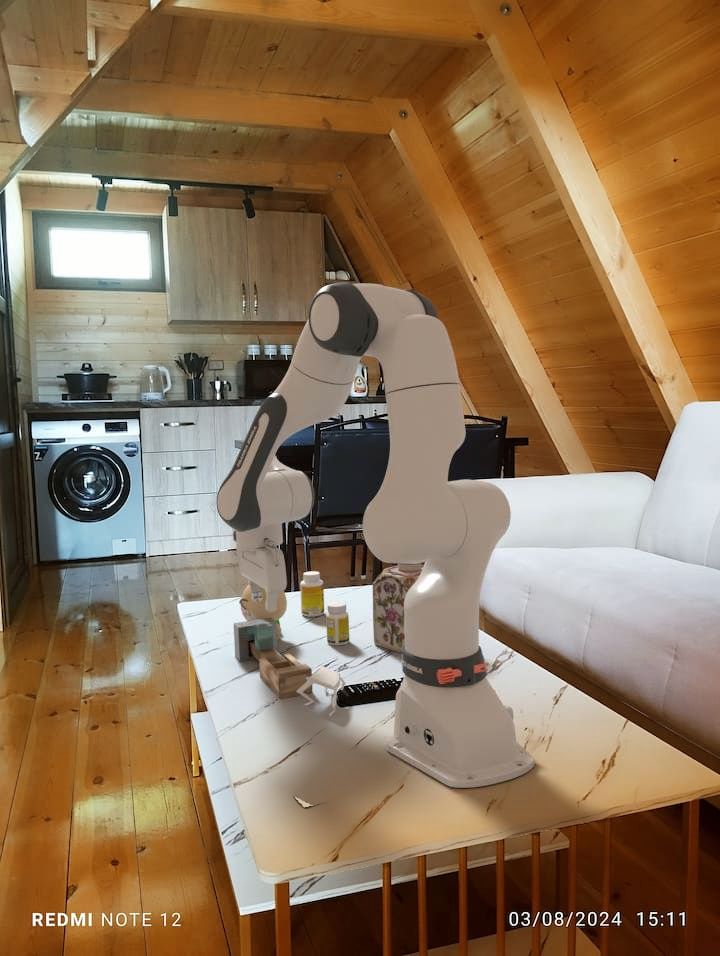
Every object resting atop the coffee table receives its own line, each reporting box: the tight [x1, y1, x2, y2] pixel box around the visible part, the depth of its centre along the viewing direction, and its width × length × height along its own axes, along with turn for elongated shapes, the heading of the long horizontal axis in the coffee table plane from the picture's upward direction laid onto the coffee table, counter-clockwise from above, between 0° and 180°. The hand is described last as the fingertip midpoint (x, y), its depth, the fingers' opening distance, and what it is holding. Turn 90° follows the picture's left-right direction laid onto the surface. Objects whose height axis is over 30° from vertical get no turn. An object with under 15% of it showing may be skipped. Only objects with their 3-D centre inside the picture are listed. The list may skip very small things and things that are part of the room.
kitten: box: [239, 584, 288, 641], centre depth 169 cm, size 15×10×15 cm
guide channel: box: [258, 653, 313, 700], centre depth 142 cm, size 12×6×4 cm, turn 24°
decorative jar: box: [372, 562, 424, 654], centre depth 162 cm, size 12×12×18 cm
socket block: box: [233, 618, 279, 662], centre depth 159 cm, size 4×8×7 cm, turn 114°
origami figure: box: [296, 665, 347, 717], centre depth 132 cm, size 12×8×5 cm
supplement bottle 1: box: [299, 570, 325, 618], centre depth 188 cm, size 6×6×10 cm
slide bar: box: [248, 622, 288, 669], centre depth 152 cm, size 16×3×7 cm, turn 24°
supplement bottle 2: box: [325, 601, 350, 646], centre depth 166 cm, size 5×5×8 cm
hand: (263, 605), depth 152 cm, fingers open, 8 cm apart
